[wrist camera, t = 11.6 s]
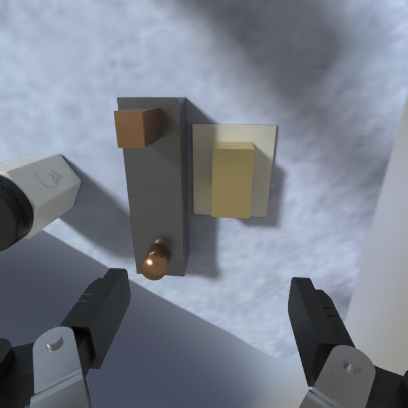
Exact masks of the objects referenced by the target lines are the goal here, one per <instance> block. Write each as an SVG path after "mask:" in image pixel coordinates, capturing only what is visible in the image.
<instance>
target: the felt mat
mask: <svg viewBox="0 0 408 408" xmlns="http://www.w3.org/2000/svg"><path fill="white" fill-rule="evenodd" d="M276 126H277V125H248V124H193V202H194V214H201V215H211V213H212V160H213V146H214V143H215V141H239V142H251V143H252V145H253V147H254V149H255V153H254V166H253V178H252V191H251V203H250V216H252V217H267V212H268V202H269V192H270V183H271V173H272V164H273V154H274V145H275V135H276Z"/></svg>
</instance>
